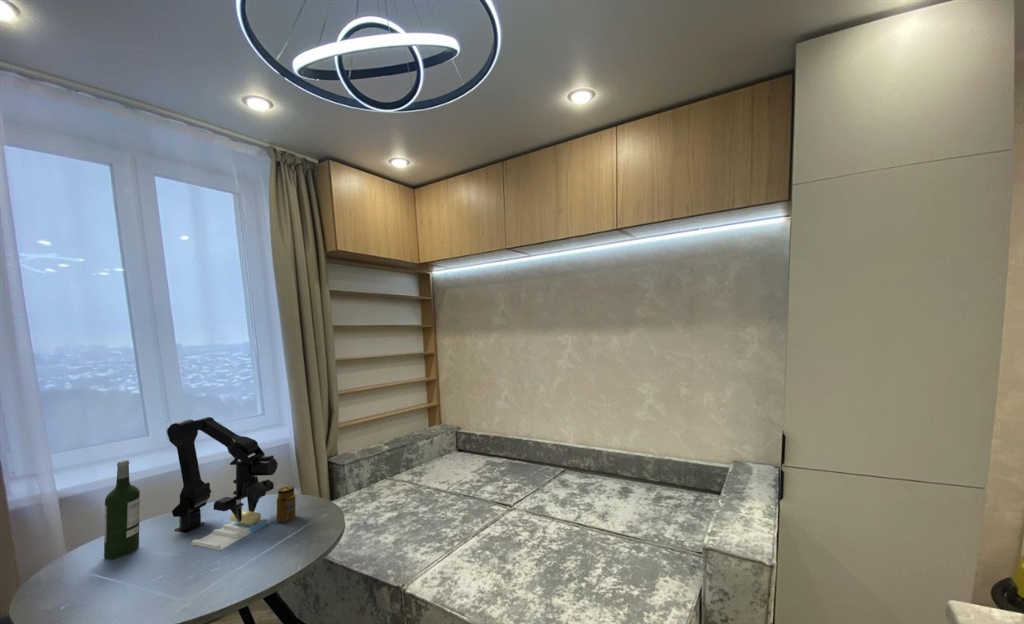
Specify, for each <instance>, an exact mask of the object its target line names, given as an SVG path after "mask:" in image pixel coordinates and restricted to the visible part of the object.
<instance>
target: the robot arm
mask: <svg viewBox="0 0 1024 624" xmlns="http://www.w3.org/2000/svg"><path fill="white" fill-rule="evenodd" d="M199 431H200V432H202V433H204V434H206V435H207V436H209V437H210V438H212V439H213V440H215V441H216V442H218V443H220V444H222V445H223V446H225V448H226V449H227V451H228V453H229V454H230V455H231V456H232V457H233V460H232V461H230V462H229V465H230V466H235V479H233V484H235V490H234V491H233V493H232V494H233V495H234V496H232V497H231V496H230V497H229V496H224V497H222V498H220V499H217V500H216V501H215V502H214V503H213V510H214V511H221V512H227V511H229V510H230V511H231V512H232V513H233V514H234V516H235V517H236V519H237V520H238V521H239V522H240V521H241V518H242V510H243V509H242V508H243V507H244V505H245V503H244V502H243V503H242V500H243V499H245V498H247V499H246V500H247V506H248V511H250V512H256V511H255V510H256V508H257V504H258V502H259V500H260V499H261V498H262V497H265V496H266V494H267V492H270V491H272V490H274V488H275V483H274V482H273V481H271V480H270V479H268V478H267V479H266V480H262V481H261V480H260V481H259V476H263V477H264V476H273V475H274V474H275V473H276V471H277V469H278V465H279V464H278V462H277V460H276V458H274V455H267V456H266V454H265V452H264V451H263V449H262V448H261V447H260V445H259V443H258V441H256V439H253V438H251V437H248V436H242V435H239V434H236V433H235V432H234V431H232V430H230V429H229V428H227V427H226V426H225V425H222V424H221V423H220V422H218V421H216V420H215V419H214V418H213V417H211V416H207V417H203V418H200V419H195V420H194V419H185V420H181V421H178V422H174V423H172V424H170V425H169V426H168V428H167V429H166V435H167V437H168V440H169V442H170V443H171V444H172V445H173V446H174V447H175V448H176V450H177V455H178V462H179V463H178V464H179V467H180V473H181V474H180V475H181V479H182V483H183V485H182V486H183V487H182V488H181V492H180V493H179V503H178V504H176V506H175V508H173V510H172V511H171V514H172V516H173V517H174V518H179V519H178V522H179V526H178V527H177V528H175V529H174V530H173V531H174V532H180V533H184V534H187V533H188V532H191V531H193V530H196V529H198V528H200V527H201V526H204V525H205V524H206V522H202V517H201V516H202V515H201V508H202V507H205V506H207V503H208V500H209V499H210V498H211V493H212V490H211V486H210V485H211V484H210V482H208V481H207V482H206V483H205V482H204V481H203V480H202V478H201V472H200V471H201V470H200V466H199V461H198V455H197V449H196V445H195V442H196V439H197V436H198V434H199Z"/></svg>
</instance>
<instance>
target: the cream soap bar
mask: <svg viewBox="0 0 1024 624" xmlns="http://www.w3.org/2000/svg"><path fill="white" fill-rule="evenodd" d="M261 518H262V515H261V513H260V512H256V511H254V512H250V511H249V510H243V509H242V518H241V521H240V522H239V521H238V520H237V519H236V517H235V516H234V514H233V512H232V513H231V515H230V522H231V523H233V522H237V523H243V524H249V525H255V524H257V523H258V522H259V521H260V519H261Z"/></svg>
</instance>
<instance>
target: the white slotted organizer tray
mask: <svg viewBox="0 0 1024 624" xmlns="http://www.w3.org/2000/svg"><path fill="white" fill-rule="evenodd" d="M269 523H270V522H268V518H263V517H261V519H260V521H259V522H258V523H257V524H255V525H249V524H243V523H237V522H231V523H229V524H228V523H226V524H223V527H221V528H219V529H217V528H215V529H214V530H212V532H211V533H209V534H208V535H205V536H203V537H202V538H199V539H197V538H196V539H193V540H192V541H191V543H190V545H192V546H196V547H200V548H205V549H210V550H215V551H221V550H224V549H225V548H227V547H229V546H230V545H232V544H234V543H236V542H238V541H240V540H241V539H243V538H245V537H247V536H248V535H251V534H252V533H254V532H255V531H257V530H260V529H261V528H263V527H264V526H266V525H268V524H269Z"/></svg>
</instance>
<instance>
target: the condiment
mask: <svg viewBox="0 0 1024 624" xmlns="http://www.w3.org/2000/svg"><path fill="white" fill-rule="evenodd" d="M296 511H297V510H296V493H295V487H294V486H292V485H287V486H283V487H281V488H279V489H278V492H277V498H276V522H277V524H279V525H283V524H287V523H291V522H292V521H294V520H295V518H296V514H297V513H296Z"/></svg>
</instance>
